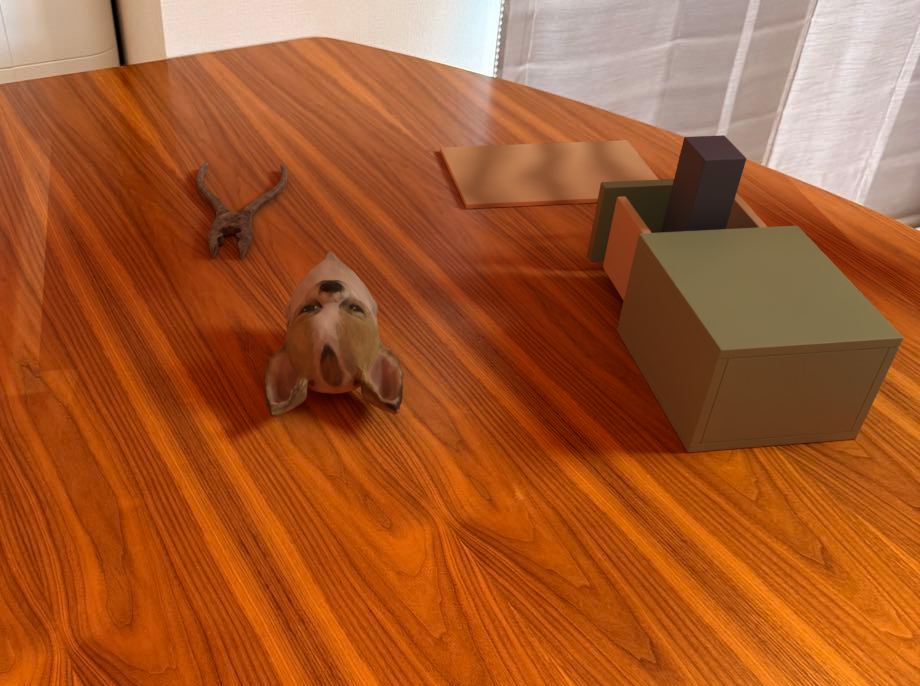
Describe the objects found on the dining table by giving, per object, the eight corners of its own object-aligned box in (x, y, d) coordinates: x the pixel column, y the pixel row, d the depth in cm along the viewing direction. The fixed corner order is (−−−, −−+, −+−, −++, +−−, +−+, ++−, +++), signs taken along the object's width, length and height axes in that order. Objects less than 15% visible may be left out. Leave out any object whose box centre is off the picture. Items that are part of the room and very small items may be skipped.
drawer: (573, 235, 94) (586, 161, 89) (694, 229, 96) (714, 156, 91) (642, 349, 81) (662, 270, 76) (782, 340, 82) (811, 261, 77)
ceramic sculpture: (396, 232, 77) (410, 348, 67) (393, 323, 84) (405, 441, 74) (262, 234, 77) (255, 351, 67) (269, 325, 83) (264, 444, 73)
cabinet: (616, 330, 84) (638, 233, 78) (763, 321, 86) (797, 225, 79) (687, 453, 73) (720, 349, 66) (856, 439, 74) (904, 337, 68)
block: (688, 267, 88) (724, 135, 80) (707, 293, 85) (747, 158, 77) (651, 269, 88) (684, 136, 79) (669, 295, 85) (705, 159, 76)
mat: (626, 144, 112) (627, 139, 112) (670, 199, 102) (671, 194, 102) (439, 151, 110) (440, 147, 109) (466, 208, 100) (466, 204, 99)
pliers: (282, 155, 105) (312, 244, 92) (283, 163, 106) (312, 252, 92) (192, 161, 104) (209, 252, 90) (193, 169, 104) (210, 261, 91)
